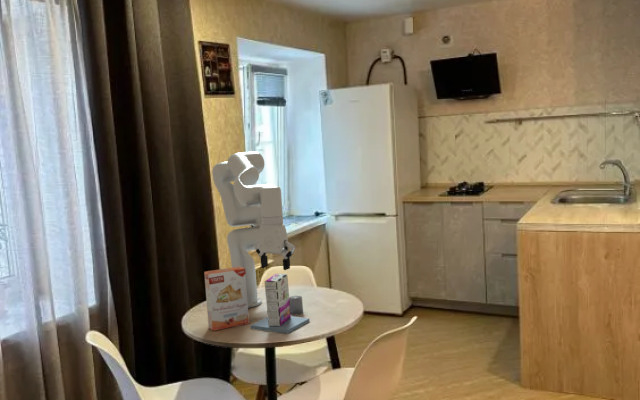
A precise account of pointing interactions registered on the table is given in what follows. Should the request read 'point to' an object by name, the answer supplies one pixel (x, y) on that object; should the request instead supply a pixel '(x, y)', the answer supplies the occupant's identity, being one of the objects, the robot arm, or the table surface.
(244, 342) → the table surface
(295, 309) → the charcoal cylinder
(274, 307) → the candy bar box
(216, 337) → the table surface
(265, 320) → the slate board
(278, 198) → the robot arm
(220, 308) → the cracker box
